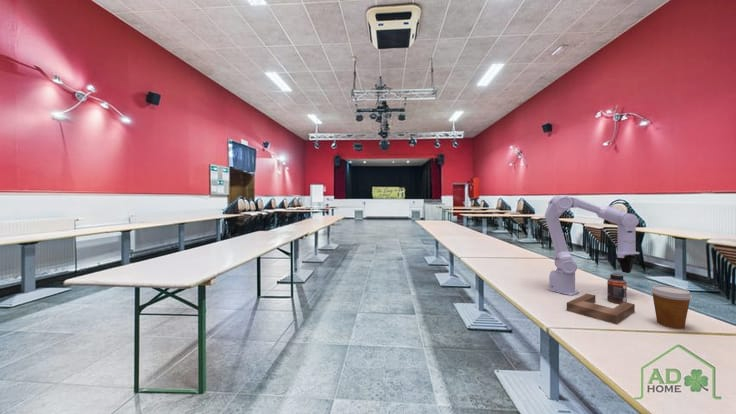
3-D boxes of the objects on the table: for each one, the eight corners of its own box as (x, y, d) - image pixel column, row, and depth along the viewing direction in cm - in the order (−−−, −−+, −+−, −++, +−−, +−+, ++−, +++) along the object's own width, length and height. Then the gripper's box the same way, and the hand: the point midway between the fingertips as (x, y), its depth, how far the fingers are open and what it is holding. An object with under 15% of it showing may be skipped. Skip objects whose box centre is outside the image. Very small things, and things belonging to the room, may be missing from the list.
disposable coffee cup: (701, 331, 89) (701, 293, 89) (670, 331, 90) (670, 294, 89) (669, 318, 99) (670, 284, 99) (642, 318, 99) (642, 285, 99)
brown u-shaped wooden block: (566, 310, 108) (566, 302, 108) (586, 300, 118) (586, 293, 118) (616, 324, 95) (616, 315, 95) (634, 312, 105) (634, 304, 105)
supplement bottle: (630, 304, 112) (630, 276, 112) (613, 304, 113) (613, 276, 113) (620, 299, 118) (620, 272, 118) (604, 298, 119) (604, 272, 119)
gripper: (633, 243, 113) (633, 277, 114) (644, 240, 121) (644, 271, 122) (610, 241, 119) (611, 273, 120) (623, 238, 127) (623, 268, 128)
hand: (626, 272), depth 121 cm, fingers closed
